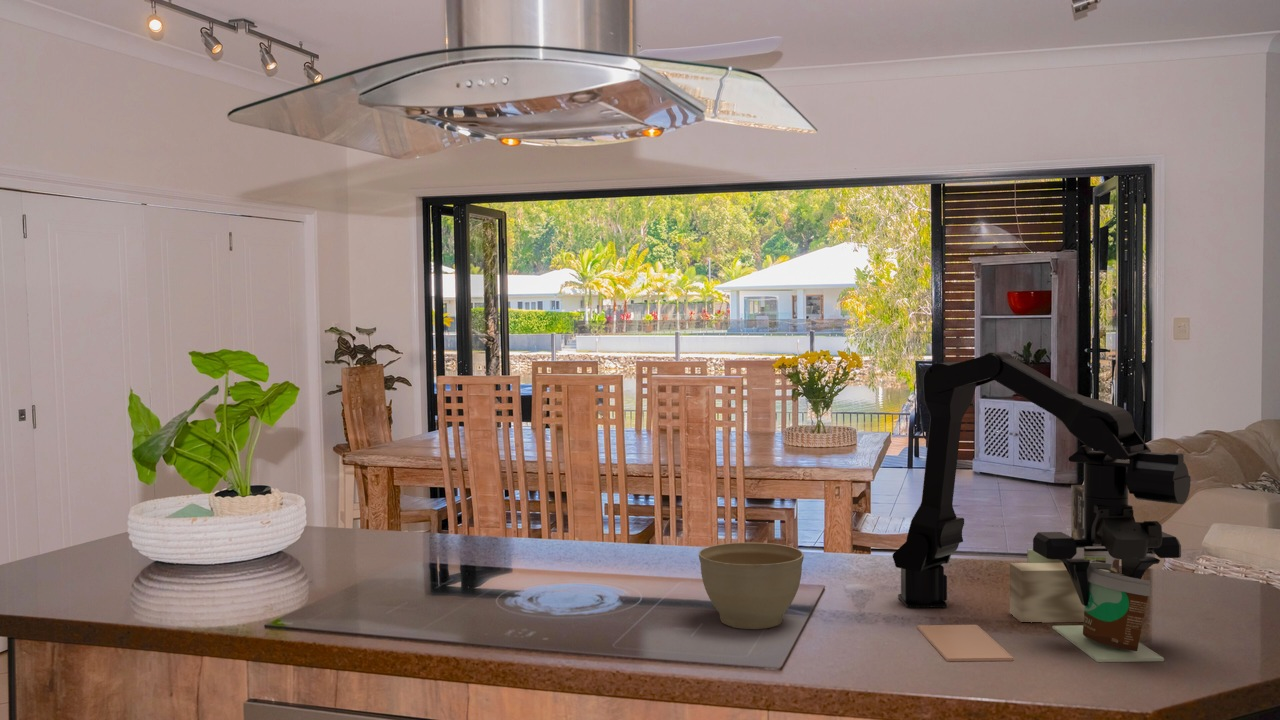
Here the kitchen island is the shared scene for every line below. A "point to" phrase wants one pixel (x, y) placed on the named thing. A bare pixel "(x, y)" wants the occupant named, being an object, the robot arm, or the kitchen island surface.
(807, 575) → the kitchen island surface
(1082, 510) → the coffee box
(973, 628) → the plate
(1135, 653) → the sage bay
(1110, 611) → the food container
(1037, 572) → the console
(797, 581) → the planter bowl
